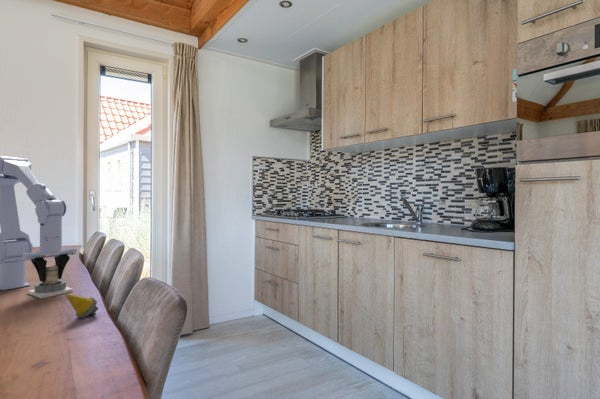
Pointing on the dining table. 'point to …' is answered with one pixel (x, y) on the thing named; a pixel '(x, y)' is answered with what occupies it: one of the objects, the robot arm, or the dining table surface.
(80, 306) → the cone
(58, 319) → the dining table surface
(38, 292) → the collar stand
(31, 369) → the dining table surface
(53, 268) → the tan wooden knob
